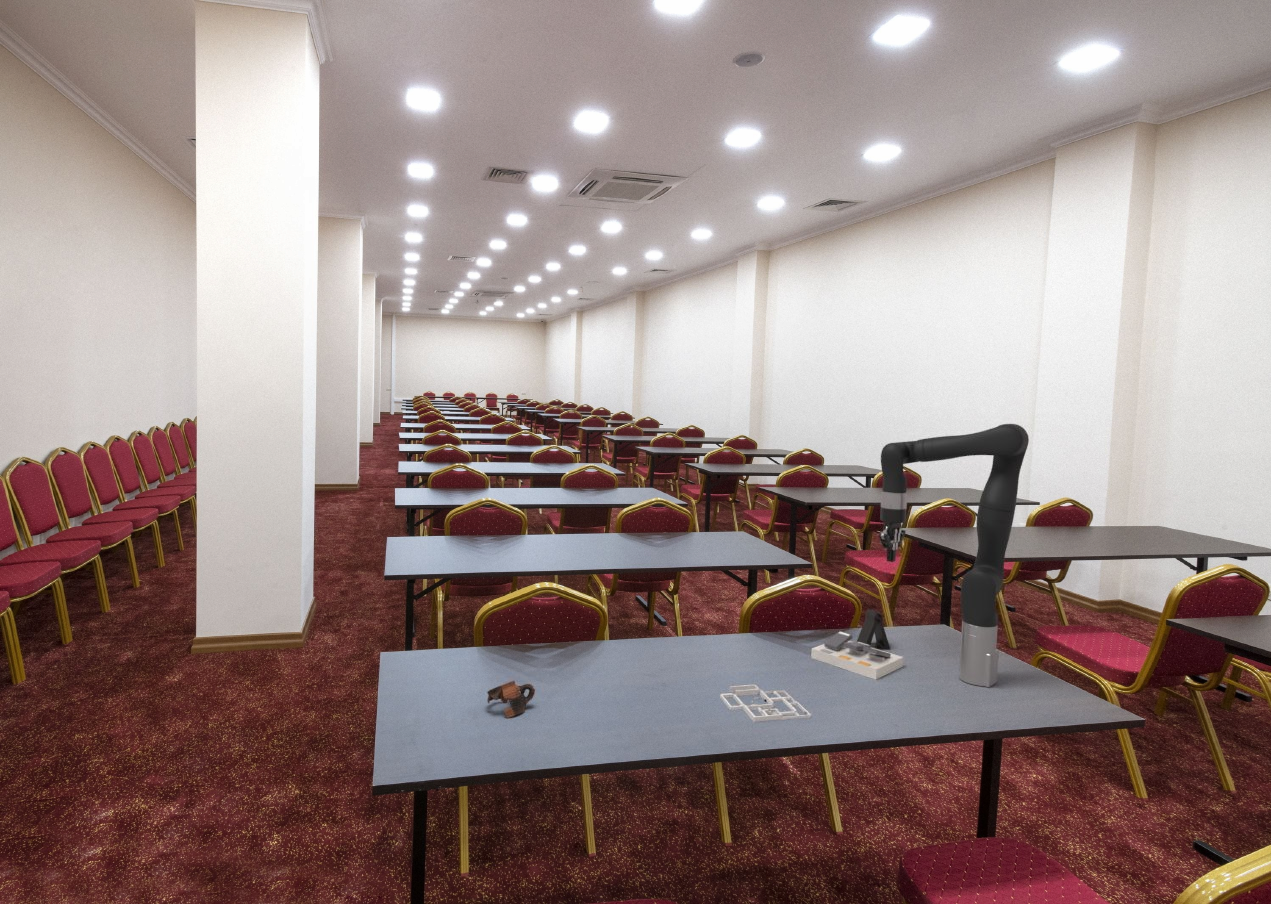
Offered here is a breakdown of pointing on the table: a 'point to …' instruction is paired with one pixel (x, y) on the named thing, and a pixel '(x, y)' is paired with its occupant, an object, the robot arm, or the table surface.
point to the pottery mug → (512, 697)
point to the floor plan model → (765, 713)
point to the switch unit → (858, 661)
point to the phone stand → (874, 631)
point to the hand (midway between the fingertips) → (890, 561)
